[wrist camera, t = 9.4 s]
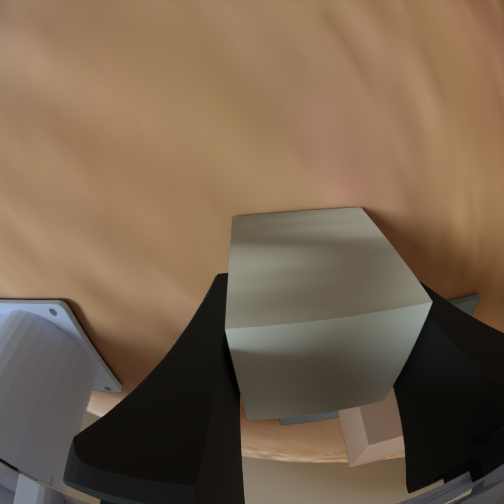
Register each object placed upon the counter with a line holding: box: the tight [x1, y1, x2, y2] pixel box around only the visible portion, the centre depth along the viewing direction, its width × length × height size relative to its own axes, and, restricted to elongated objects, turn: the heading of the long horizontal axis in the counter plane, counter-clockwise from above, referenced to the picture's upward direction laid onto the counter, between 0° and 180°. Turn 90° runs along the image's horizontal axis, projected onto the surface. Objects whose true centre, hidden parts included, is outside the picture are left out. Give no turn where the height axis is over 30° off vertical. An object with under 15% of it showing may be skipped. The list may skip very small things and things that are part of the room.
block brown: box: [338, 387, 405, 467], centre depth 13 cm, size 4×4×5 cm
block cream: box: [225, 207, 433, 421], centre depth 9 cm, size 4×4×5 cm
